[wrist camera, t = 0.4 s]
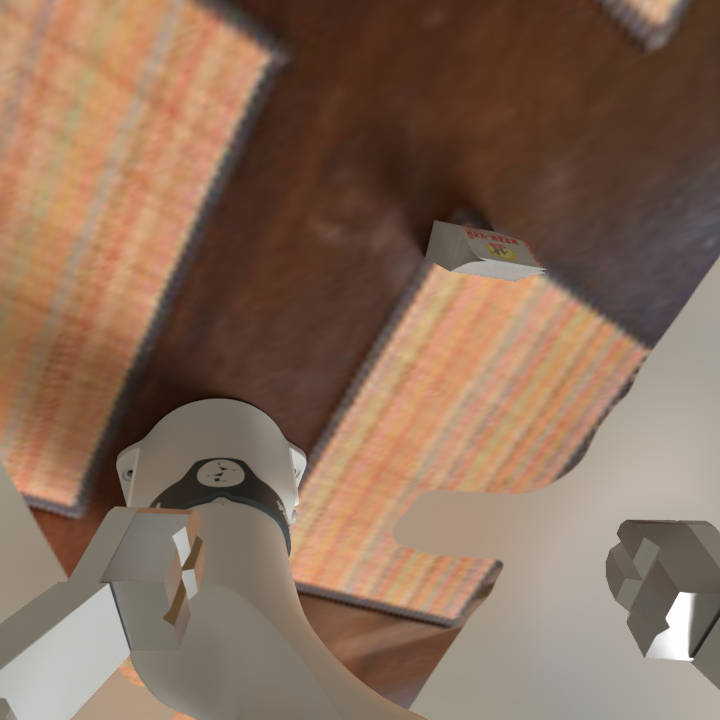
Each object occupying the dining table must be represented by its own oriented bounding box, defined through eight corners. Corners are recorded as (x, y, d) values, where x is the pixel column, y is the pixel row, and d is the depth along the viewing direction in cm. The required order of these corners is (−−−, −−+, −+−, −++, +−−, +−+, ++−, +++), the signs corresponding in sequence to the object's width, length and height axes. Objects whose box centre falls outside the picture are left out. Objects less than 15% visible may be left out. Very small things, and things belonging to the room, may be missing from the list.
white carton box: (484, 267, 52) (540, 293, 43) (425, 257, 50) (470, 282, 41) (494, 231, 51) (554, 250, 42) (434, 220, 48) (483, 237, 40)
